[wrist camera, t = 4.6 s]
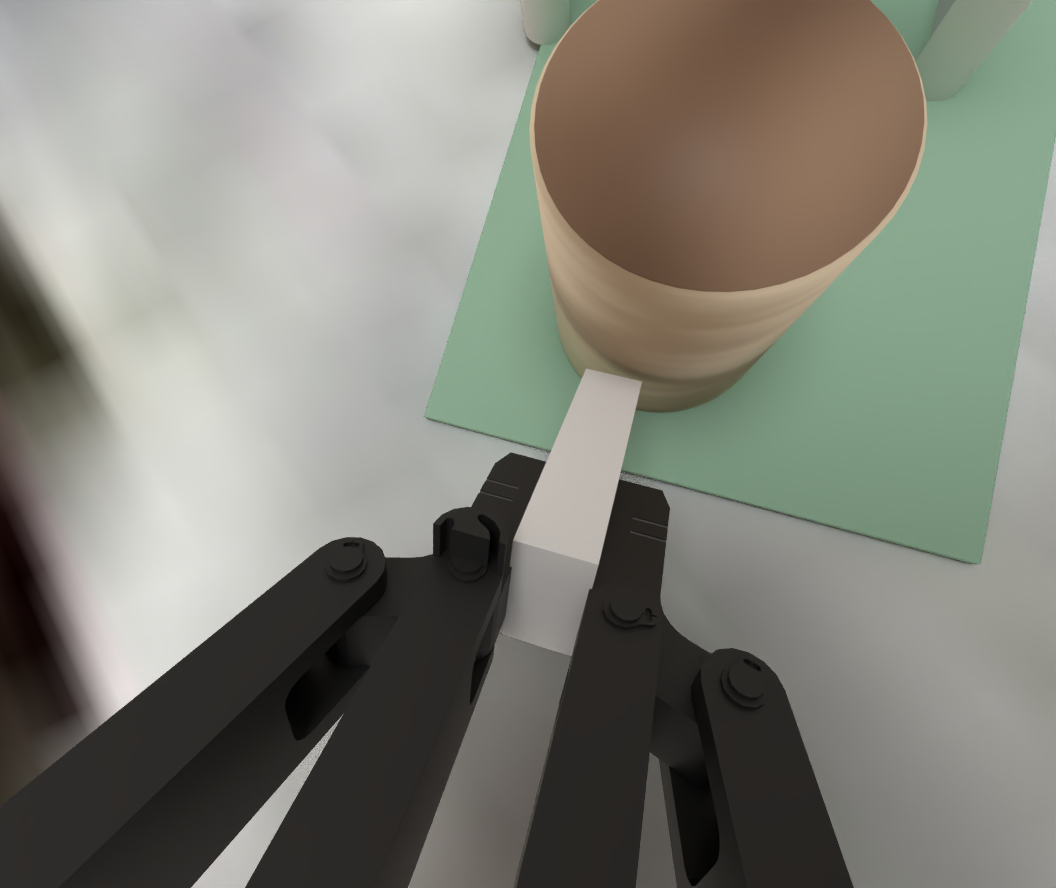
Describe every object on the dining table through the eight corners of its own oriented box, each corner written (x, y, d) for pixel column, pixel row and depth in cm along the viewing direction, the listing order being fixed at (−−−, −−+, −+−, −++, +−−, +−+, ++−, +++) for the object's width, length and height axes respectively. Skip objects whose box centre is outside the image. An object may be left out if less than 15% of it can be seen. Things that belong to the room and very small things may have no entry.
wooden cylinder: (785, 239, 19) (961, -28, 10) (740, 435, 18) (890, 335, 9) (585, 202, 20) (582, -71, 11) (534, 385, 19) (484, 250, 10)
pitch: (1079, -43, 20) (1089, -55, 19) (971, 563, 17) (980, 564, 16) (587, -93, 22) (587, -104, 22) (427, 418, 20) (424, 416, 19)
